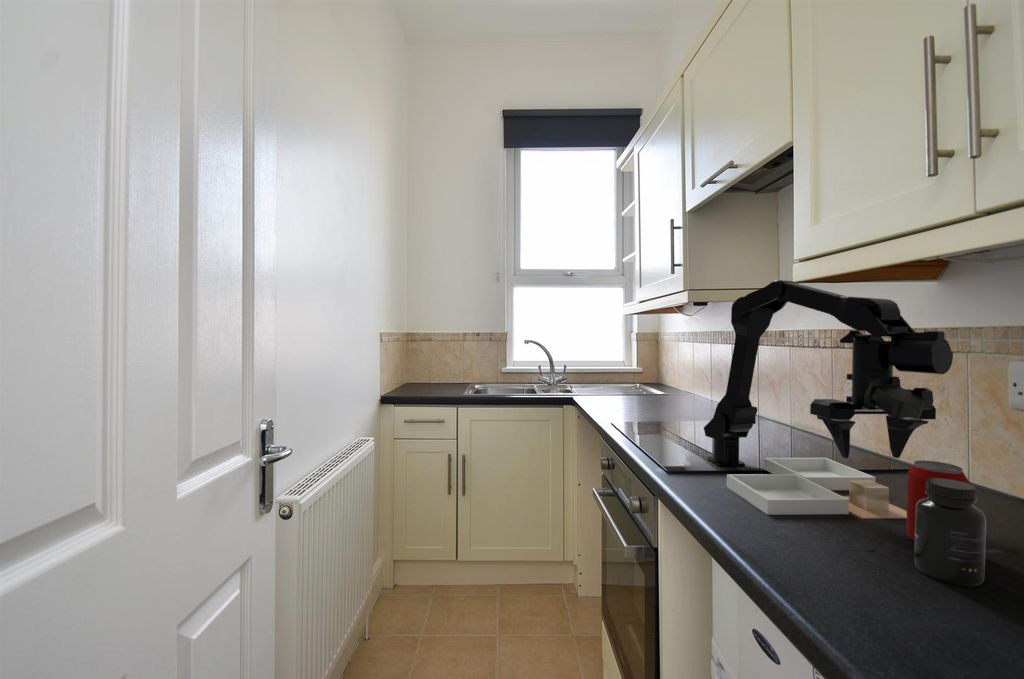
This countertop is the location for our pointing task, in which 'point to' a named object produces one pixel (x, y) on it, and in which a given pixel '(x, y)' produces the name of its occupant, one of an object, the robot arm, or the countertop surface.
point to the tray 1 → (786, 494)
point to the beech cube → (869, 495)
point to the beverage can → (918, 485)
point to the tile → (878, 512)
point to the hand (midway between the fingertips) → (870, 457)
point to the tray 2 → (817, 471)
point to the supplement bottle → (950, 533)
